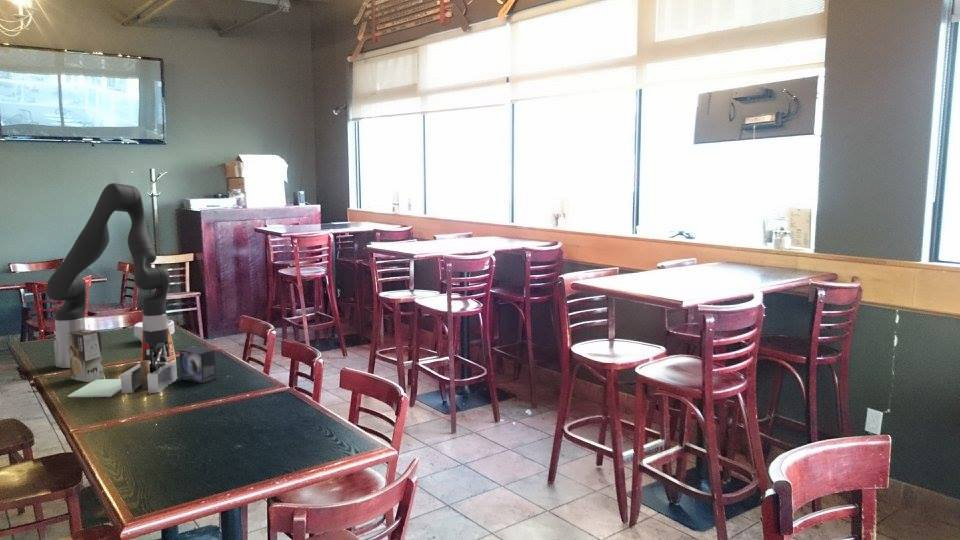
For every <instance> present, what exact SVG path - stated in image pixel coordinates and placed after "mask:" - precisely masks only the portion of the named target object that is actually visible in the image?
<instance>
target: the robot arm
mask: <svg viewBox="0 0 960 540" xmlns="http://www.w3.org/2000/svg"><path fill="white" fill-rule="evenodd" d="M143 201H144V200H143V197H142V194H141V191H140V189H139V188H137V187H136V186H134V185H131V184H121V183H115V182H114V183H113V182H112V183H108V184H107V185H106V186H105V187H104V189H103V190H102V191H101V194H100V196H99V198H98V200H97V202H96V205H94V206H95V207H94V209H93V211H92V212H91V215H90V217H89V218H88V220H87V222H86V224H85V225H84V227H83V229H82V230H81V232H79V235H78V236H77V238H76V240H75V241H74V244H73V245H72V246H71V248H70V250H69V252H68V253H67V254H66V256H65V258H64V259H63V261H62V262H61V264H60V265H59V266H58V267H57V269H56V270H55V271H54V272H53V273H52V274H51V276H50V278H49V279H48V281H47V283H46V286H45V287H46V291H45V292H46V295H47V297H48V298H49V299H50V300H52V301H54V302H55V301H56V302H63V301H64V303H63V304H62V305H61V306H60V308H58V309H57V310H56V311H54V313H53V314H54V327H55V338H56V339H54V341H53V348H54V349H53V350H54V359H55V360H54V361H55V367H56V368H62V369H68V368H69V369H70V357H69V346H68V334H67V333H69V332H73V331H78V330H84V329H85V330H86V321H85V312H86V308H87V294H86V293H87V290H86V288H87V287H86V282H85V280H84V278H83V277H82V275H81V273H82V272H83V271H85V270H86V269H88V268H89V267H90V266H91V265H93V264H94V263H95V262H97V261H98V260H99V258H100V257H102V255H103V253H104V252H105V250H106V249H107V247H108V246H109V243H110V232H109V231H110V230H109V226H108V225H109V224H108V222H109V220H110V219H111V217H112V214H113V213H114V212H122V213H127V214H128V215H129V218H130V221H131V225H130V230H129V232H128V235H127V246H128V249H129V252H130V255H131V259H132V261H133V271H134V272H133V273H134V274H133V275H134V276H133V277H134V278H133V280H134V281H133V282H134V284H135V286H136V288H138V289H139V290H141V291H150V290H154V292H153V293H152V294H151V295H148V296H146V297H143V298H142V302H141V305H142V314H143V315H142V322H143V337H144V342H145V343H148V344H149V349H145V350H144V359H145V360H148V361H149V366H150V373H153V372H155V371H156V370H157V369H156V365H157V362H158V361H159V360H160V361H159V362H167V360H168V357H170V353H169V342H168V339H169V337H168V321H167V320H168V316H167V305H166V301H167V297H168V292H169V291H168V290H169V286H170V282H171V275H170V272H169V271H168V269H167V268H166V267H164V266H157V267H147V266H149V265H152V264H153V263H155V262H156V260H157V255H156V254H157V253H156V252H155V249H154V247H153V246H154V245H153V243H152V240H151V238H150V234H149V232H148V231H149V230H148V226H147V224H148V223H147V219H146V212H145V207H144V202H143ZM166 351H167V352H166Z"/></svg>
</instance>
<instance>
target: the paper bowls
mask: <svg viewBox="0 0 960 540" xmlns="http://www.w3.org/2000/svg"><path fill="white" fill-rule="evenodd" d="M167 321H168V327H169V330H170V334H171V335H173V334H174V333H175V322H174V321H173V320H172V319H167ZM142 329H143V321H139V322H137V323H135V324H134V325H133V333H134V334H133V335H134V337H135V338H136V339H137V338H138V339H139V340H140V342H141V343H142Z"/></svg>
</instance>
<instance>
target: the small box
mask: <svg viewBox="0 0 960 540" xmlns="http://www.w3.org/2000/svg"><path fill="white" fill-rule="evenodd" d="M178 351H179V362H180V363H179V364H180V379H181V380H182V381H187V382H192V381H193V383H197V382H198V384H202V383H203V384H205V382H206V383H209V382H212V381H215V380H214V379H216V380H217V379H218V377H217V368H216V349H214V348H209V347H208V348H207V347H203V346H197V345H192V346H188V347H185V348H182V349H179V350H178ZM211 380H212V381H211ZM208 381H209V382H208Z"/></svg>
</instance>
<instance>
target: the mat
mask: <svg viewBox="0 0 960 540" xmlns="http://www.w3.org/2000/svg"><path fill="white" fill-rule="evenodd" d="M121 391H122V389H121V378H101V379H96V380H94V381H90V382H88V384H86V385H84V386H82V387H80V388H79V389H76V390H75V391H73V392H71V393H70V394H68V395H67V398H100V397H101V398H105V397H106V398H111V397H112V396H115V394H117V393H119V392H121Z"/></svg>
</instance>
